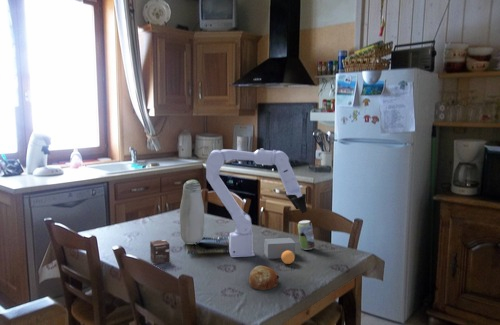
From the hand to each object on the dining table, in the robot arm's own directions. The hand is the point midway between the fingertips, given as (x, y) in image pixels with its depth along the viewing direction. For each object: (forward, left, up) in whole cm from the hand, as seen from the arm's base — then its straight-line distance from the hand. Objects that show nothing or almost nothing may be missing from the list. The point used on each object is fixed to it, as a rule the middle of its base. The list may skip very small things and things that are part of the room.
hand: (301, 210), depth 164 cm
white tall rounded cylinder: (-43, +18, -18) cm, 50 cm away
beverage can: (+4, +5, -18) cm, 20 cm away
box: (-56, 0, -18) cm, 59 cm away
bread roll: (-21, -26, -19) cm, 38 cm away
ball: (-8, -10, -16) cm, 20 cm away
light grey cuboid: (-9, -1, -18) cm, 20 cm away
